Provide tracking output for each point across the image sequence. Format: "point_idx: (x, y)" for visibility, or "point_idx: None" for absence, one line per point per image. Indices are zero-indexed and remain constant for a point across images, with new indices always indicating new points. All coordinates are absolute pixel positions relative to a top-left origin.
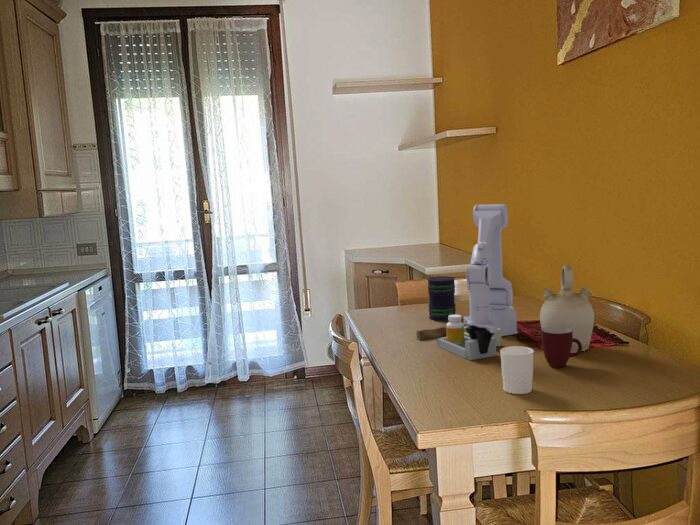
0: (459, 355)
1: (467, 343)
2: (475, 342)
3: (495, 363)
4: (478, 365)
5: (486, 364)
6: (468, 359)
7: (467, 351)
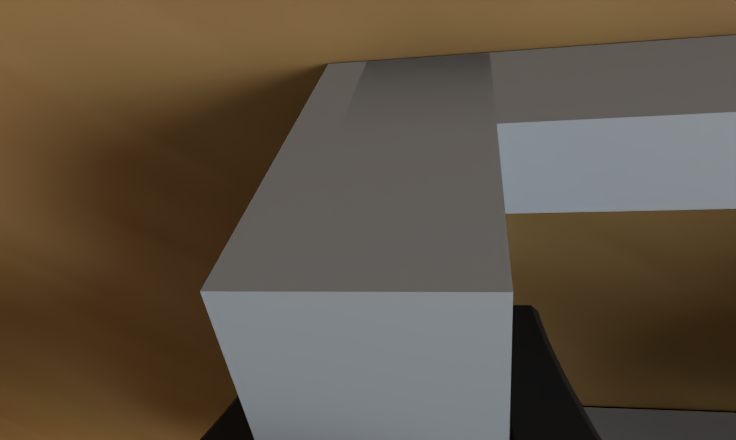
0: (728, 39)
1: (331, 253)
2: (269, 427)
3: (79, 283)
4: (9, 49)
5: (49, 176)
6: (374, 63)
7: (377, 126)
